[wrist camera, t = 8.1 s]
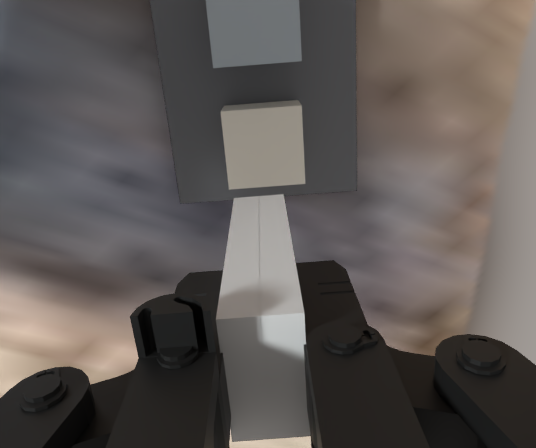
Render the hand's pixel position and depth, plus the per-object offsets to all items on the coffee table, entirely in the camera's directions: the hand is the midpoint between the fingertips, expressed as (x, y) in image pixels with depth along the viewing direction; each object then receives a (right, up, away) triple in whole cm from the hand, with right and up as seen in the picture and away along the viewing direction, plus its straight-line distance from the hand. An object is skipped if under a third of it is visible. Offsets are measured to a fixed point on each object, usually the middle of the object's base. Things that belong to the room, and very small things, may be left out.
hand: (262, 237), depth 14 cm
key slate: (-1, +12, +13) cm, 18 cm away
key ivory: (0, +6, +17) cm, 18 cm away
